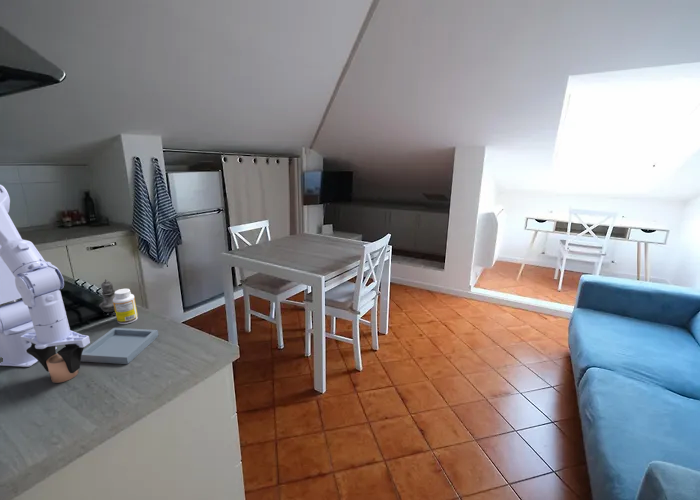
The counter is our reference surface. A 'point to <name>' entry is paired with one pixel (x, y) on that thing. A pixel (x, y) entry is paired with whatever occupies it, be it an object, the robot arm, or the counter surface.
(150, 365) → the counter surface
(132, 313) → the supplement bottle
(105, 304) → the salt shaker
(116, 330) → the tray
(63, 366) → the terracotta cup
